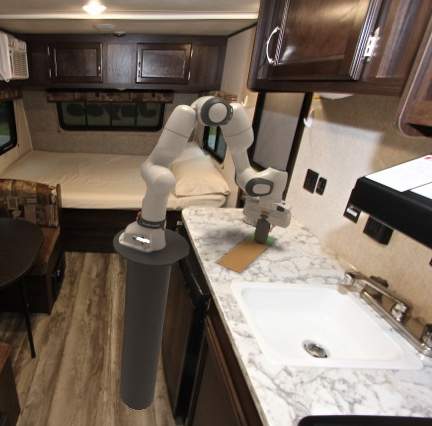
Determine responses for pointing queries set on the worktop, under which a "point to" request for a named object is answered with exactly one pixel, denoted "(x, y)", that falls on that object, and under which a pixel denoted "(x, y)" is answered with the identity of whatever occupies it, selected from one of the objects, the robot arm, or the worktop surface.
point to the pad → (268, 242)
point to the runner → (242, 255)
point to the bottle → (262, 228)
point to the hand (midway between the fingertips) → (262, 229)
